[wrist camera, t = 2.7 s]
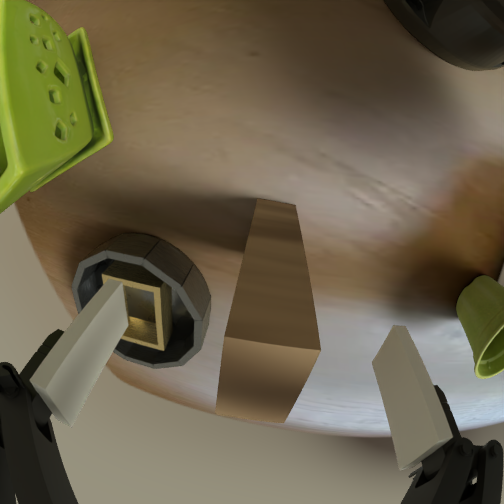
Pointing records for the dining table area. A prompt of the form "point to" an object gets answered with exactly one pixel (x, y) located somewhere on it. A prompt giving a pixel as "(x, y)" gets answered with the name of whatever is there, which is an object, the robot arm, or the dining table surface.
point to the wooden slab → (269, 321)
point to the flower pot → (45, 100)
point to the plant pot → (484, 324)
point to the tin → (150, 297)
